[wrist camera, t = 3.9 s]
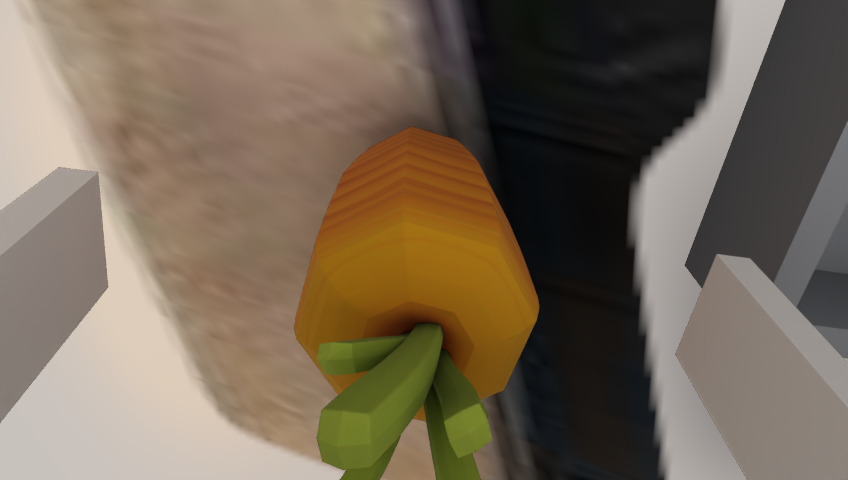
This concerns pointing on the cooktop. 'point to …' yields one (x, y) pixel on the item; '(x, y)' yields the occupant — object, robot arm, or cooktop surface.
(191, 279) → the cooktop surface
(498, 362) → the carrot
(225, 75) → the cooktop surface
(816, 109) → the grey open box
